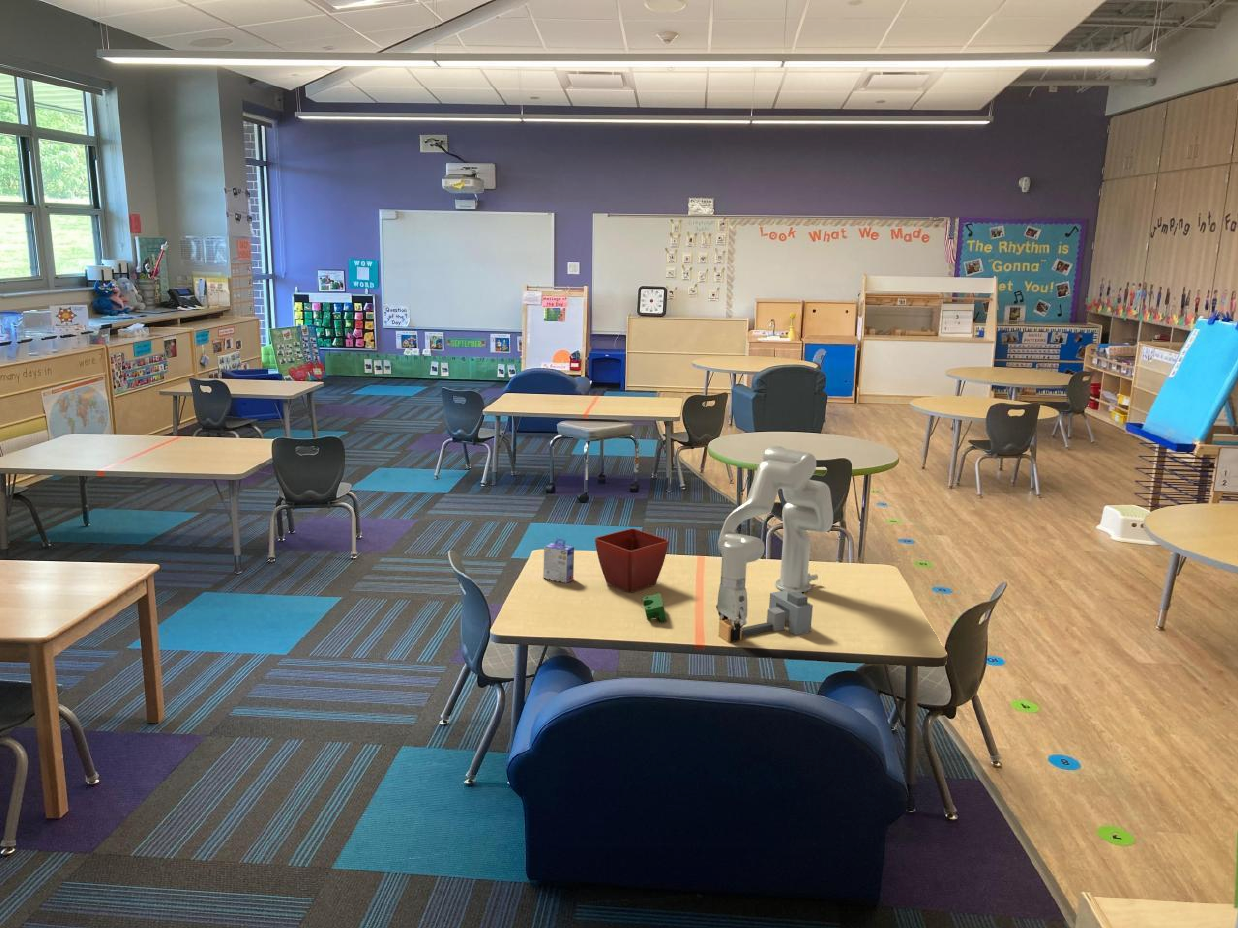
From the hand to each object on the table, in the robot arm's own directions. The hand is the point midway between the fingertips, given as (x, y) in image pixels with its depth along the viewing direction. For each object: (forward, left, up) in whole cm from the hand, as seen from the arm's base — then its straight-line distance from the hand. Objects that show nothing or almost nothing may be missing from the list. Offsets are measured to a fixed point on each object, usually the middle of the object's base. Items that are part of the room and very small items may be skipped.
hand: (729, 636), depth 287 cm
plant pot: (+6, -53, -1) cm, 53 cm away
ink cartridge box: (+27, -68, -1) cm, 73 cm away
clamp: (+13, -24, -1) cm, 27 cm away
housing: (-23, 0, 0) cm, 23 cm away
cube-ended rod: (-9, 0, 0) cm, 9 cm away
